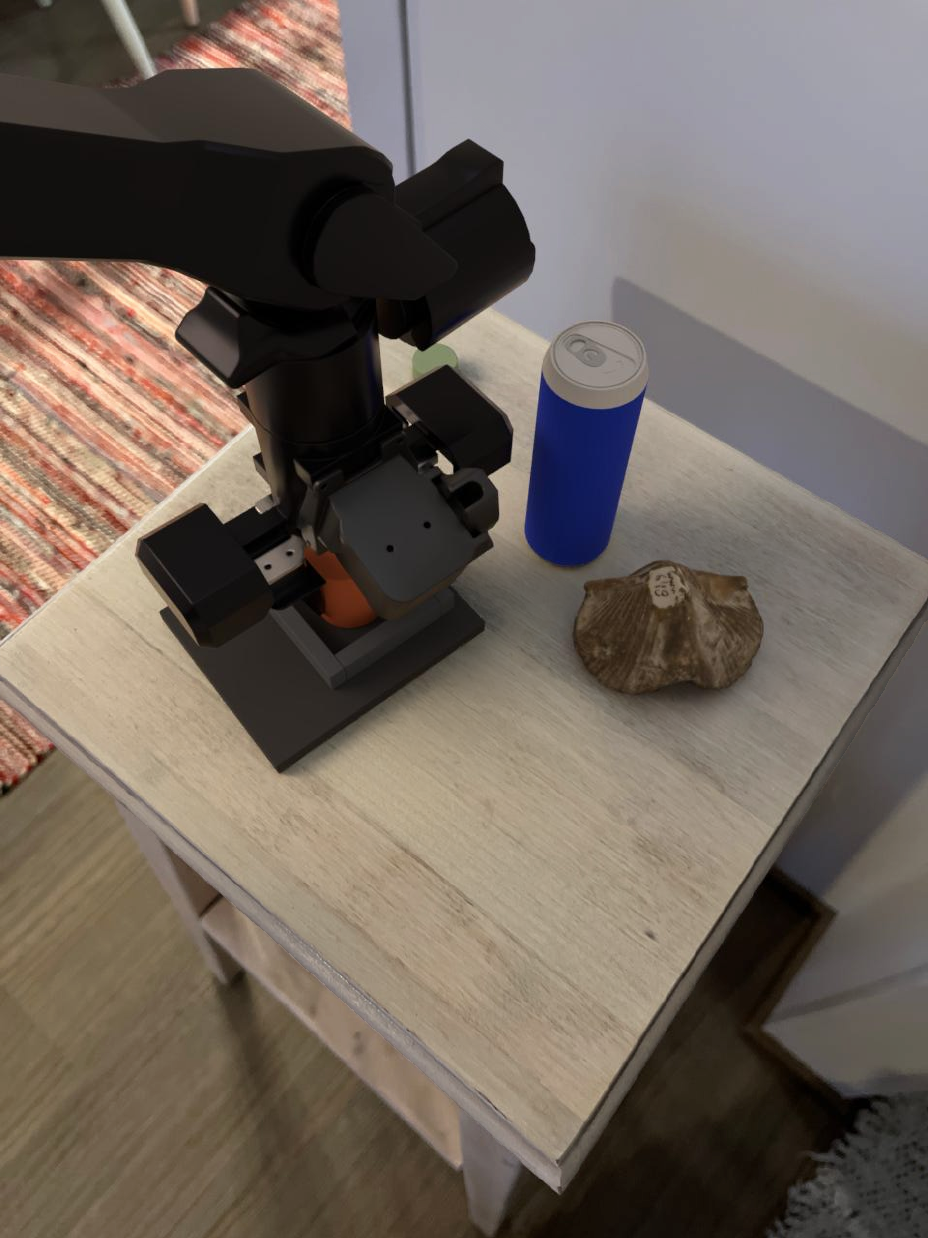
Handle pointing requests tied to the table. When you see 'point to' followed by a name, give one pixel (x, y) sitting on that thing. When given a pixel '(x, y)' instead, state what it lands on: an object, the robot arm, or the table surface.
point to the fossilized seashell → (667, 629)
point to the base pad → (324, 668)
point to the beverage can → (583, 439)
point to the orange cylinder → (340, 593)
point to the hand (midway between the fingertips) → (348, 588)
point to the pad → (433, 359)
